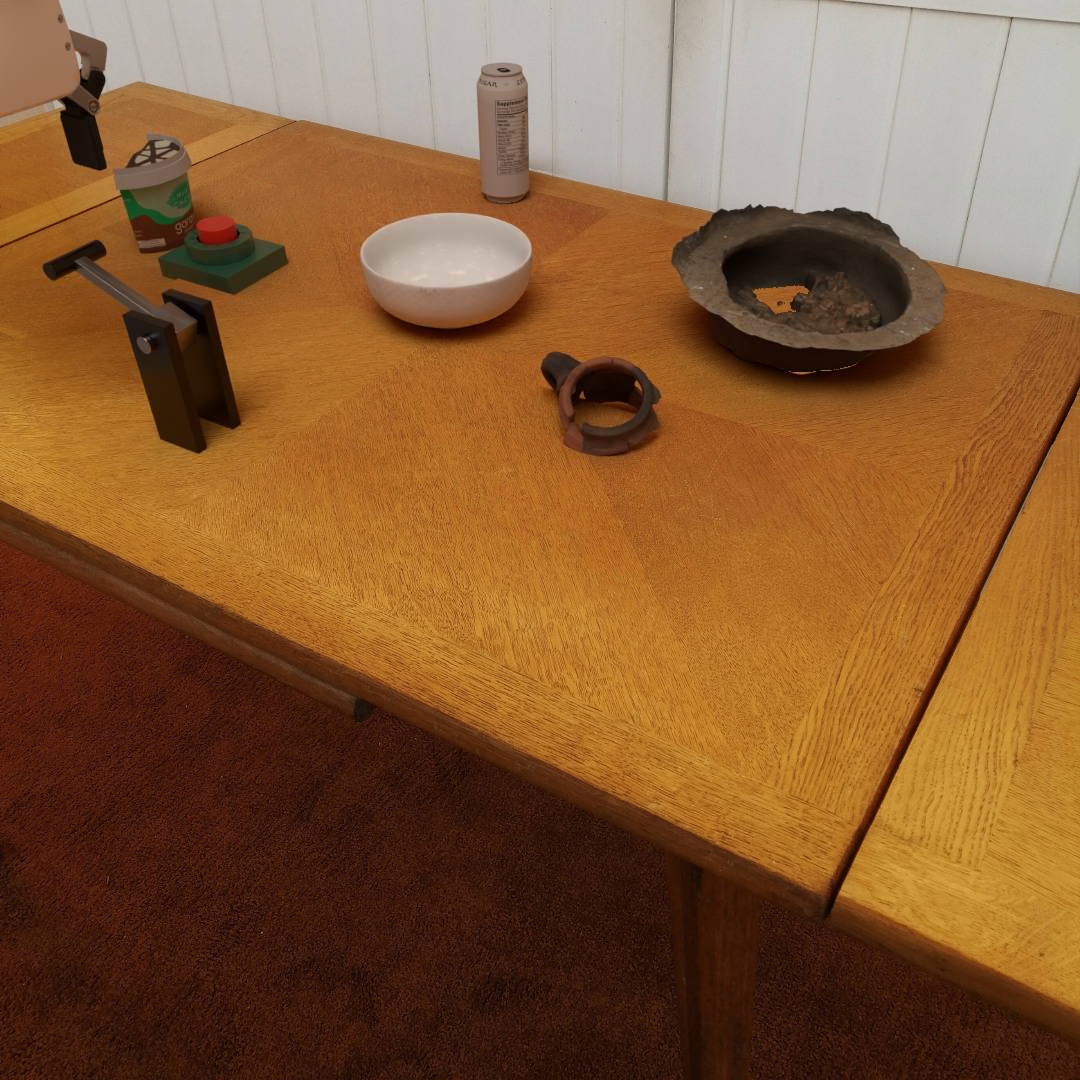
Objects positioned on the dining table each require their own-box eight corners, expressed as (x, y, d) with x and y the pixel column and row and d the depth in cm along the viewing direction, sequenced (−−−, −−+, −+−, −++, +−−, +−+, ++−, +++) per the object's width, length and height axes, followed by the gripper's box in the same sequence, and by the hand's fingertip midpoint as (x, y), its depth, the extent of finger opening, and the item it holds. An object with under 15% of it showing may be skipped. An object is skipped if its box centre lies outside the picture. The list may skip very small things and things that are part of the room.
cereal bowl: (335, 330, 99) (324, 264, 95) (420, 264, 111) (414, 201, 106) (486, 367, 94) (482, 298, 89) (559, 293, 105) (560, 228, 101)
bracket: (122, 451, 84) (75, 312, 76) (191, 405, 89) (154, 271, 81) (219, 490, 80) (181, 348, 71) (286, 439, 85) (257, 302, 77)
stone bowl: (723, 259, 111) (739, 176, 104) (949, 328, 102) (981, 243, 96) (624, 355, 94) (637, 263, 88) (884, 447, 86) (918, 353, 80)
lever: (43, 279, 78) (41, 254, 76) (93, 255, 81) (93, 230, 79) (162, 364, 76) (163, 340, 75) (208, 336, 80) (210, 313, 78)
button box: (162, 276, 109) (153, 241, 106) (220, 246, 115) (213, 212, 112) (231, 297, 105) (223, 261, 103) (288, 264, 111) (281, 229, 108)
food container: (191, 259, 112) (168, 170, 106) (136, 260, 112) (110, 170, 106) (219, 215, 121) (200, 131, 115) (169, 215, 122) (147, 131, 115)
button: (191, 242, 107) (187, 226, 106) (218, 228, 110) (214, 213, 109) (219, 249, 106) (216, 233, 104) (245, 236, 108) (242, 220, 107)
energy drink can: (513, 183, 129) (510, 58, 119) (538, 198, 125) (537, 70, 115) (473, 193, 126) (466, 66, 117) (496, 208, 123) (491, 79, 113)
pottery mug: (681, 424, 87) (686, 379, 79) (617, 506, 85) (616, 468, 77) (572, 354, 90) (566, 304, 83) (507, 432, 88) (495, 388, 81)
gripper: (30, -100, 71) (95, 143, 83) (-212, -62, 60) (-98, 215, 71) (104, -90, 69) (161, 161, 80) (-134, -47, 57) (-29, 239, 68)
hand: (39, 186), depth 75 cm, fingers open, 9 cm apart
